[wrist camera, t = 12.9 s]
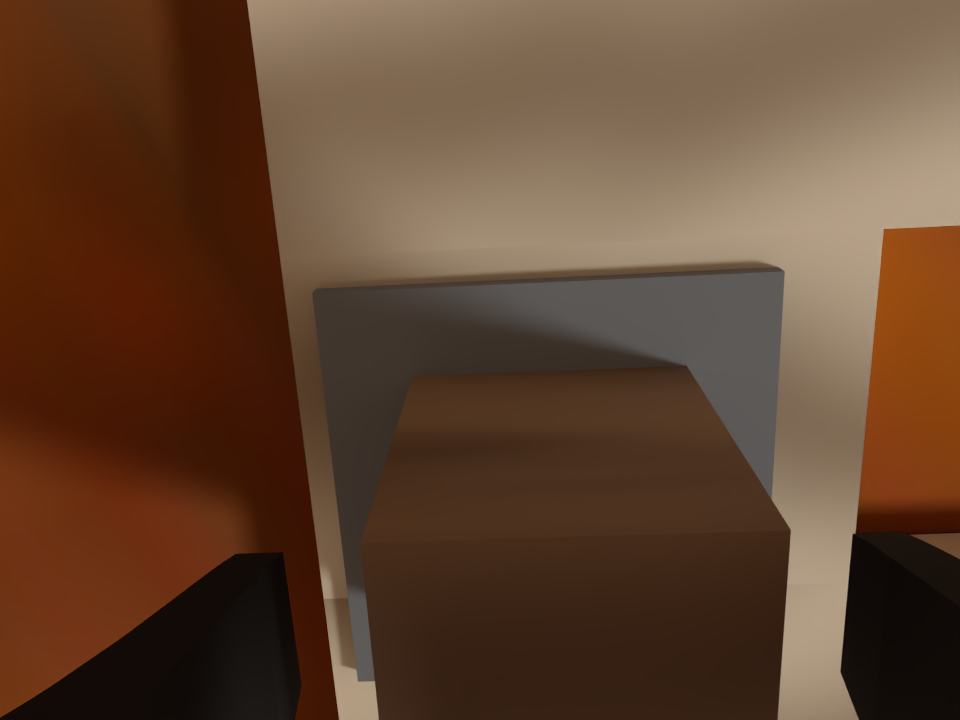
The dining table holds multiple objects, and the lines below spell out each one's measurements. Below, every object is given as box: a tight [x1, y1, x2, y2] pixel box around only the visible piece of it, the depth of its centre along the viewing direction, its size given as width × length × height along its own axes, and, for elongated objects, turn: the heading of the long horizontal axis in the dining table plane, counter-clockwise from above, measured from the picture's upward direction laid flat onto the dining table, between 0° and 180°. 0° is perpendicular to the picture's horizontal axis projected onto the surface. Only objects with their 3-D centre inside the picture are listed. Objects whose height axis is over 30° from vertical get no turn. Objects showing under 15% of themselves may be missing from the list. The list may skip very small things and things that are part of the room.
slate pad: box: [312, 267, 785, 682], centre depth 14 cm, size 7×7×1 cm
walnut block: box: [360, 366, 791, 720], centre depth 11 cm, size 4×4×5 cm
